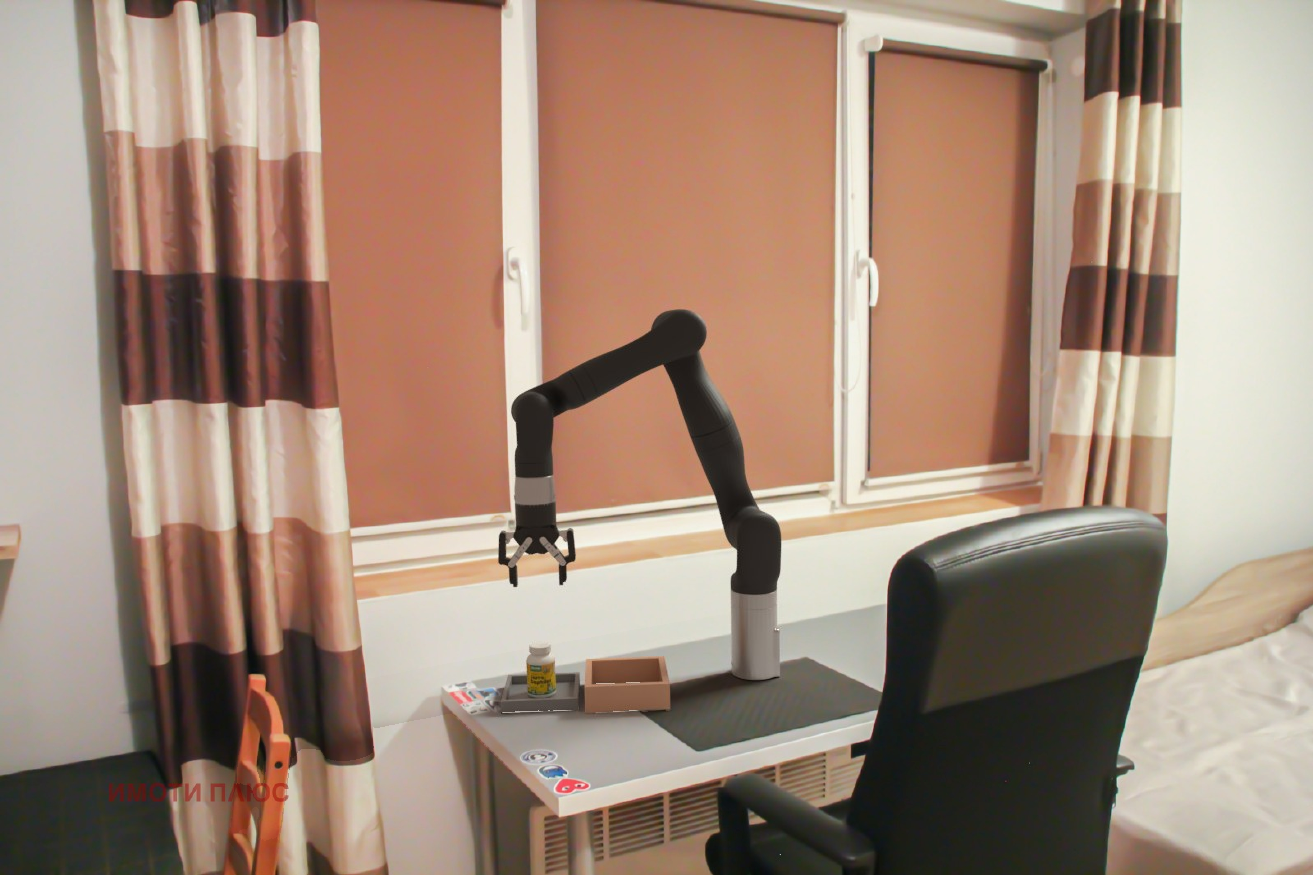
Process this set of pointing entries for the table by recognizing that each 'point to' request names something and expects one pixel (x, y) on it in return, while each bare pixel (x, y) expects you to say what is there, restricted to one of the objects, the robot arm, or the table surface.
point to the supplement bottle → (541, 671)
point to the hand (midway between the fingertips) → (538, 585)
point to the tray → (519, 699)
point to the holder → (626, 684)
